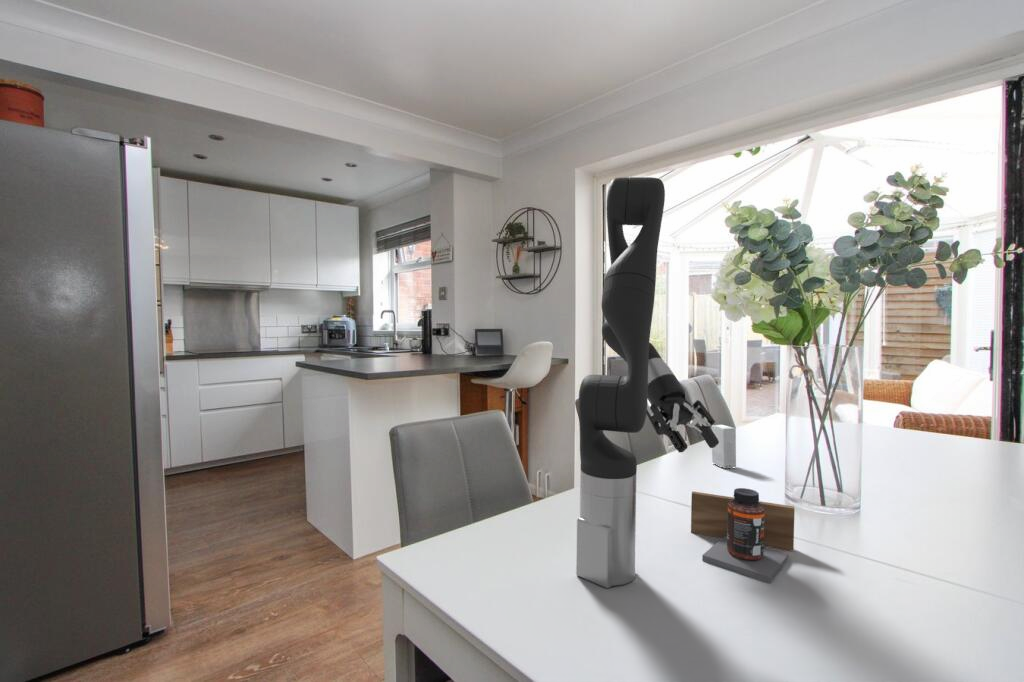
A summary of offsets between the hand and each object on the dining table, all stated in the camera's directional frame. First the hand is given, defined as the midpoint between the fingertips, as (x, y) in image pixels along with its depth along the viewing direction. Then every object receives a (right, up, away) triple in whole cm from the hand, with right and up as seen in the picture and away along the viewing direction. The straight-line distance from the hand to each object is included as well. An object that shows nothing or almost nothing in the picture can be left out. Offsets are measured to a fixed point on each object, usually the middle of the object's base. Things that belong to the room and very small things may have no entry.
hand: (699, 448), depth 95 cm
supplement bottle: (+5, -17, -9) cm, 20 cm away
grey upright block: (+26, -17, +50) cm, 59 cm away
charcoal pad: (+5, -18, -9) cm, 21 cm away
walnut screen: (+8, -18, -1) cm, 19 cm away
